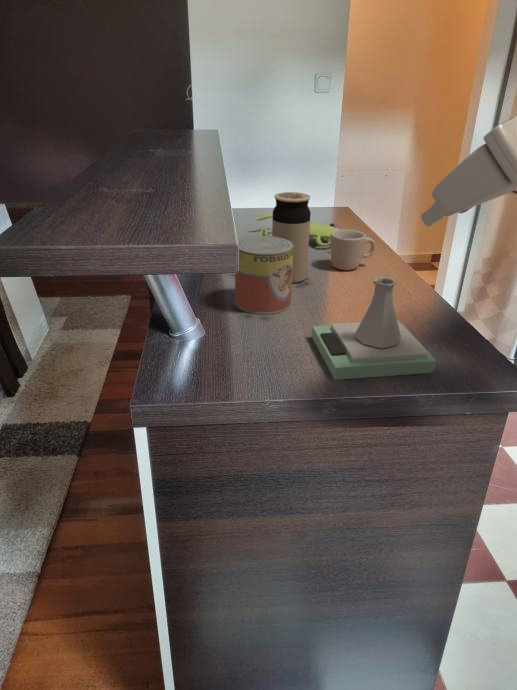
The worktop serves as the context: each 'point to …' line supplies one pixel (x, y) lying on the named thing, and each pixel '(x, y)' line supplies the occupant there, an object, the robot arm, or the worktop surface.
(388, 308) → the flask
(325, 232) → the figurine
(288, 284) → the canned food
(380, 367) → the scale
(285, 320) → the worktop surface
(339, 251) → the cup
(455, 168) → the robot arm
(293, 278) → the travel mug
